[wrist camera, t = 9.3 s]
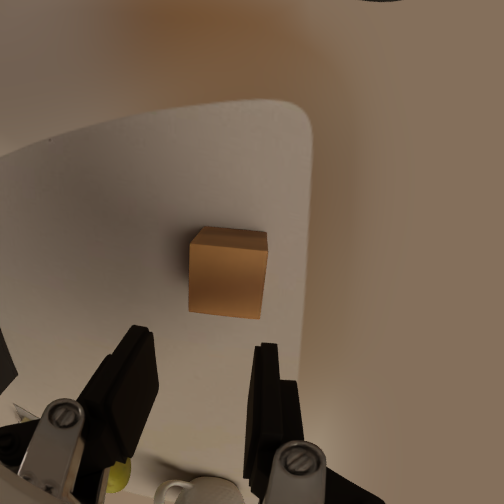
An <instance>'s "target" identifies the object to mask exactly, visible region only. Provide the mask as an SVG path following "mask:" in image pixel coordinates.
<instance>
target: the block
mask: <svg viewBox="0 0 504 504" xmlns="http://www.w3.org/2000/svg"><path fill="white" fill-rule="evenodd" d="M267 257H268V244H267V233H266V232H260V231H250V230H240V229H230V228H219V227H209V226H204V227H203V228H202V230H201V231H200V232H199V233H198V234H197V236H196V237H195V238H194V239H193V240H192V242H191V243H190V251H189V312H196V313H204V314H212V315H221V316H229V317H239V318H248V319H260V313H261V306H262V298H263V290H264V282H265V274H266V265H267Z"/></svg>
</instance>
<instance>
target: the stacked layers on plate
mask: <svg viewBox="0 0 504 504" xmlns="http://www.w3.org/2000/svg"><path fill="white" fill-rule="evenodd" d="M14 406H15V408H16V410H17V412H18V413H19V415H20V417H21V419H22V422H27V421H31V420H35V419H39V418H37V417H35V416H33V415H32V414H30V413H28V412H26V411H25V410H23V409H21V408H20V407H18V406H16V405H15V404H14ZM22 422H19V421H18V423H22Z"/></svg>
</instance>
